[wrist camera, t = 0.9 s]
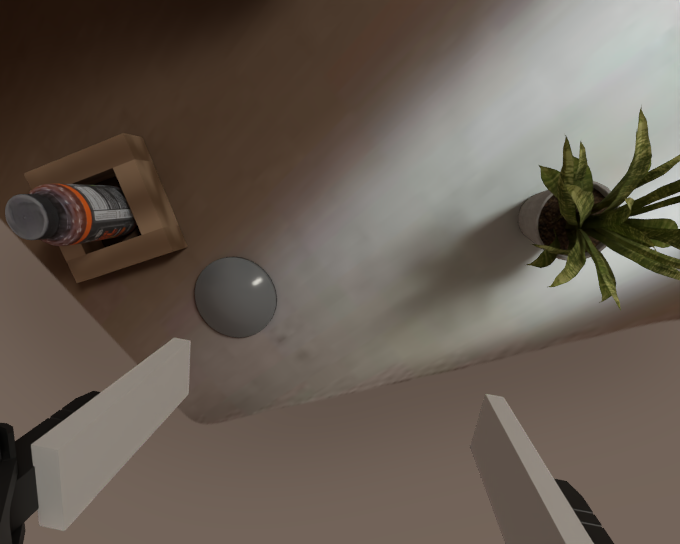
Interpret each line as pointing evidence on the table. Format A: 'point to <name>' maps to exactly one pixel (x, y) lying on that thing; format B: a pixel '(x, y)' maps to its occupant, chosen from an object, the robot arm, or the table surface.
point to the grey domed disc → (235, 297)
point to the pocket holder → (141, 194)
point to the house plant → (601, 217)
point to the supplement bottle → (70, 214)
